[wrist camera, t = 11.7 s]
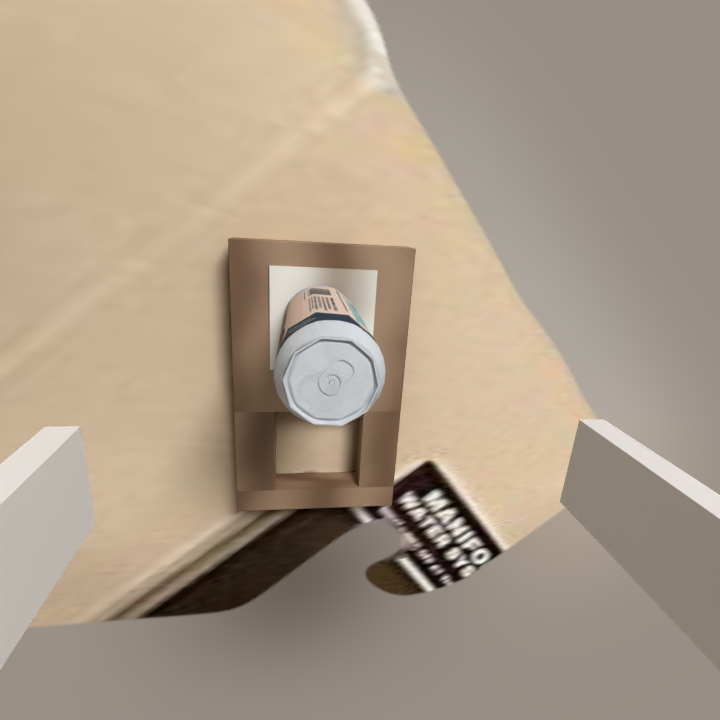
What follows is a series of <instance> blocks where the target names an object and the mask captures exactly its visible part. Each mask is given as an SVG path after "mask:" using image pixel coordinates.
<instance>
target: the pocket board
mask: <svg viewBox="0 0 720 720" xmlns="http://www.w3.org/2000/svg"><path fill="white" fill-rule="evenodd" d="M228 243H229V273H230V302H231V332H232V361H233V391H234V421H235V450H236V480H237V510H238V511H252V510H279V509H306V508H333V507H360V506H386V505H392V495H393V484H394V474H395V463H396V453H397V442H398V432H399V421H400V410H401V400H402V389H403V379H404V368H405V358H406V347H407V336H408V326H409V315H410V305H411V294H412V284H413V273H414V262H415V252H416V249H414V248H410V247H397V246H379V245H360V244H342V243H323V242H305V241H286V240H268V239H249V238H230V239H228ZM316 285H318V286H329V287H333V288H335V289H337V290H338V291H340V292H341V293H343V294H344V295H345V296H346V297H347V298H348V299H349V300H350V302H351V303H352V305H353V306H354V308H355V309H356V311H357V313H358V314H359V316H360V317H361V319H362V320H363V322H364V324H365V325H366V327H367V328H368V330H369V332H370V333H371V335H372V336H373V338H374V339H375V341H376V343H377V344H378V346H379V348H380V350H381V353H382V355H383V357H384V363H385V370H386V372H385V382H384V386H383V389H382V391H381V394H380V396H379V398H378V399H377V400H376V402H375V403H374V404H373V406H372V407H371V408H370V409H369V410H368V411H367V412H366V413H364V414H363V415H362V416H361V417H359V422H358V438H357V454H356V470H355V472H336V473H296V474H276V412H290V411H289V410H288V409H287V408H286V407H285V405H284V404H283V402H282V401H281V399H280V398H279V396H278V393H277V391H276V386H275V382H274V366H275V360H276V355H277V350H278V345H279V339H280V334H281V329H282V323H283V318H284V313H285V309H286V307H287V305H288V303H289V301H290V300H291V299H292V297H293V296H295V295H296V294H297V293H298V292H300V291H301V290H303V289H305V288H308V287H311V286H316Z"/></svg>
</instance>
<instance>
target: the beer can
mask: <svg viewBox="0 0 720 720" xmlns="http://www.w3.org/2000/svg"><path fill="white" fill-rule="evenodd" d="M385 372H386V370H385V363H384V357H383V355H382V353H381V350H380V348H379V346H378V344H377V343H376V341H375V339H374V338H373V336H372V335H371V333H370V332H369V330H368V328H367V327H366V325H365V324H364V322H363V320H362V319H361V317H360V316H359V314H358V313H357V311H356V309H355V308H354V306H353V305H352V303H351V302H350V300H349V299H348V298H347V297H346V296H345V295H344V294H343V293H341V292H340V291H338V290H337V289H335V288H333V287H329V286H318V285H316V286H311V287H308V288H305V289H303V290H301V291H300V292H298V293H297V294H296V295H295V296H293V297H292V299H291V300H290V301H289V303H288V305H287V307H286V309H285V313H284V318H283V323H282V329H281V334H280V339H279V345H278V350H277V355H276V360H275V366H274V382H275V386H276V391H277V393H278V396H279V398H280V399H281V401H282V402H283V404H284V405H285V407H286V408H287V409H288V410H289V411H290V412H291V413H293V414H294V415H295V416H297V417H299V418H300V419H302V420H304V421H306V422H308V423H311V424H313V425H327V426H343V425H345V424H347V423H348V422H350V421H352V420H354V419H357V418H359V417H361V416H362V415H363V414H364V413H366V412H367V411H368V410H369V409H370V408H371V407H372V406H373V404H374V403H375V402H376V400H377V399H378V398H379V396H380V394H381V391H382V389H383V386H384V382H385Z"/></svg>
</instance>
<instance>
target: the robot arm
mask: <svg viewBox="0 0 720 720" xmlns="http://www.w3.org/2000/svg"><path fill="white" fill-rule="evenodd" d="M560 502H561V503H562V504H563V505H564V506H565V507H566V508H567V509H568V510H569V511H570V512H571V514H572V515H573V516H574V517H575V518H576V519H577V520H578V521H579V522H580V523H581V524H582V525H583V526H584V527H585V528H586V530H588V532H589V533H590V534H591V535H592V536H593V537H594V538H595V539H596V540H597V541H598V542H599V543H600V544H601V545H602V547H603V548H604V549H605V550H606V551H607V552H608V553H609V554H610V555H611V556H612V557H613V558H614V559H615V560H616V561H617V562H618V564H619V565H621V567H622V568H623V569H624V570H625V571H626V572H627V573H628V574H629V575H630V576H631V577H632V578H633V579H634V580H635V582H636V583H637V584H638V585H639V586H640V587H641V588H642V589H643V590H644V591H645V592H646V593H647V594H648V595H649V596H650V598H651V599H652V600H653V601H654V602H655V603H656V604H657V605H658V606H659V607H660V608H661V609H662V610H663V611H664V612H665V614H667V615H668V617H669V618H670V619H671V620H672V621H673V622H674V623H675V624H676V625H677V626H678V627H679V628H680V629H681V630H682V632H683V633H684V634H685V635H686V636H687V637H688V638H689V639H690V640H691V641H692V642H693V643H694V644H695V645H696V646H697V648H698V649H699V650H700V651H701V652H702V653H703V654H704V655H705V656H706V657H707V658H708V659H709V660H710V661H711V662H712V663H713V665H714V666H715V667H716V668H717V669H718V670H719V671H720V495H719V494H717V493H716V492H714V491H713V490H711V489H710V488H708V487H706V486H705V485H703V484H702V483H700V482H699V481H697V480H696V479H694V478H693V477H691V476H689V475H688V474H686V473H685V472H683V471H682V470H680V469H679V468H677V467H676V466H674V465H672V464H671V463H670V462H668V461H666V460H665V459H663V458H662V457H660V456H659V455H657V454H656V453H654V452H653V451H651V450H650V449H648V448H647V447H645V446H643V445H642V444H640V443H639V442H637V441H636V440H634V439H633V438H631V437H630V436H628V435H627V434H625V433H623V432H622V431H620V430H619V429H617V428H616V427H614V426H613V425H611V424H610V423H608V422H607V421H605V420H579V424H578V428H577V432H576V437H575V441H574V445H573V449H572V453H571V458H570V462H569V466H568V470H567V474H566V478H565V483H564V487H563V491H562V495H561V499H560ZM94 524H95V516H94V510H93V504H92V497H91V491H90V485H89V478H88V472H87V466H86V459H85V453H84V447H83V440H82V434H81V428H80V426H74V427H44V428H43V429H42V430H41V431H39V432H38V433H37V434H36V435H35V436H33V437H32V438H31V439H30V440H29V441H27V442H26V443H25V444H24V445H23V446H22V447H20V448H19V449H18V450H17V451H16V452H14V453H13V454H12V455H11V456H10V457H8V458H7V459H6V460H5V461H4V462H3V463H1V464H0V669H1V668H2V666H3V665H4V663H5V662H6V660H7V659H8V657H9V655H10V654H11V652H12V651H13V649H14V648H15V646H16V645H17V643H18V642H19V640H20V639H21V637H22V635H23V634H24V632H25V631H26V629H27V628H28V626H29V625H30V623H31V622H32V620H33V618H34V617H35V615H36V614H37V612H38V611H39V609H40V608H41V606H42V605H43V603H44V601H45V600H46V598H47V597H48V595H49V594H50V592H51V591H52V589H53V588H54V586H55V584H56V583H57V581H58V580H59V578H60V577H61V575H62V574H63V572H64V571H65V569H66V568H67V566H68V564H69V563H70V561H71V560H72V558H73V557H74V555H75V554H76V552H77V551H78V549H79V547H80V546H81V544H82V543H83V541H84V540H85V538H86V537H87V535H88V534H89V532H90V530H91V529H92V527H93V526H94Z"/></svg>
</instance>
